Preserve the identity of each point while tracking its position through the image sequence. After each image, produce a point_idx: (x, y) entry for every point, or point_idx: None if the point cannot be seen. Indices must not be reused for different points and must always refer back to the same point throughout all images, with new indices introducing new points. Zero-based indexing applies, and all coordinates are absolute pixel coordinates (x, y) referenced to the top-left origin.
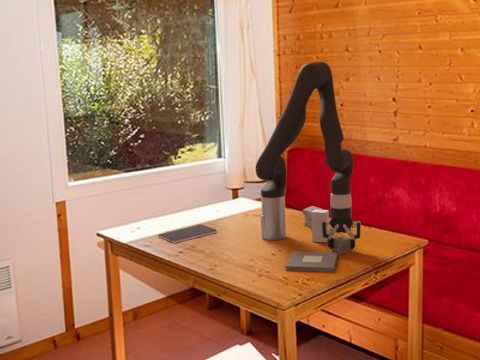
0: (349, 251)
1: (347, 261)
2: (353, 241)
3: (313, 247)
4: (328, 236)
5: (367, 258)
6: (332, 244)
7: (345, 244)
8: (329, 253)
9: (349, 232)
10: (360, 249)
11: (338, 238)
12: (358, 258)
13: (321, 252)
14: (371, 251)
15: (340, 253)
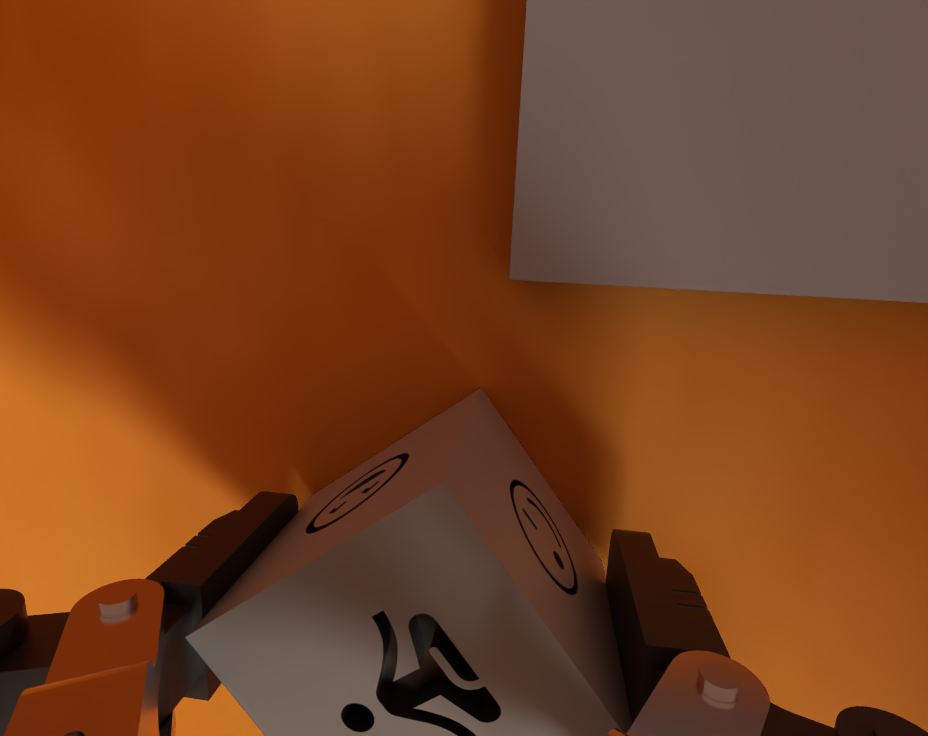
0: (334, 483)
1: (335, 7)
2: (174, 578)
3: (915, 713)
4: (764, 723)
5: (55, 194)
6: (610, 622)
7: (345, 509)
8: (672, 196)
9: (58, 723)
10: None
11: (476, 672)
12: (180, 186)
13: (846, 253)
14: (53, 503)
15: (468, 399)
